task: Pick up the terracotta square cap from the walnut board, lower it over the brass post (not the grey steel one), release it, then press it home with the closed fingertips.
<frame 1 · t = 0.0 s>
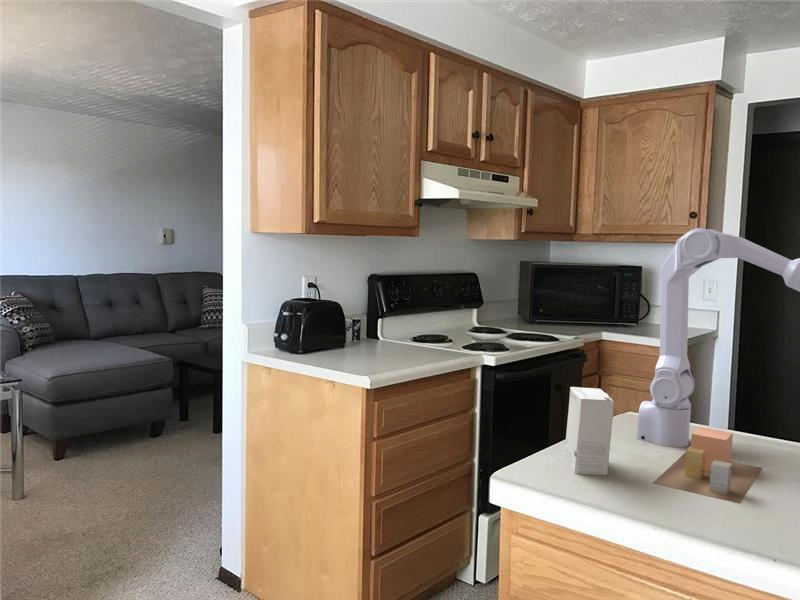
brass post: (694, 475, 114), resting on board
board: (709, 483, 115), on the countertop
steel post: (719, 491, 107), resting on board
skincare box: (585, 476, 117), on the countertop
cap: (710, 466, 119), point 1 cm above the countertop, touching board
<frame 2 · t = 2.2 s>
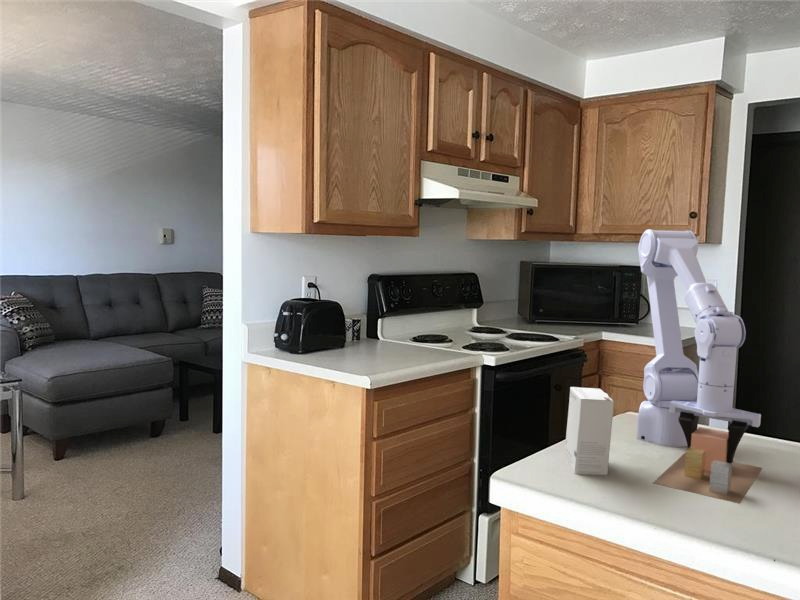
hand: (710, 458, 119), 3 cm above the countertop, tool pointing down, fingers closed on cap, 6 cm apart
cap: (710, 466, 119), point 1 cm above the countertop, touching board, gripper
everything else where it was.
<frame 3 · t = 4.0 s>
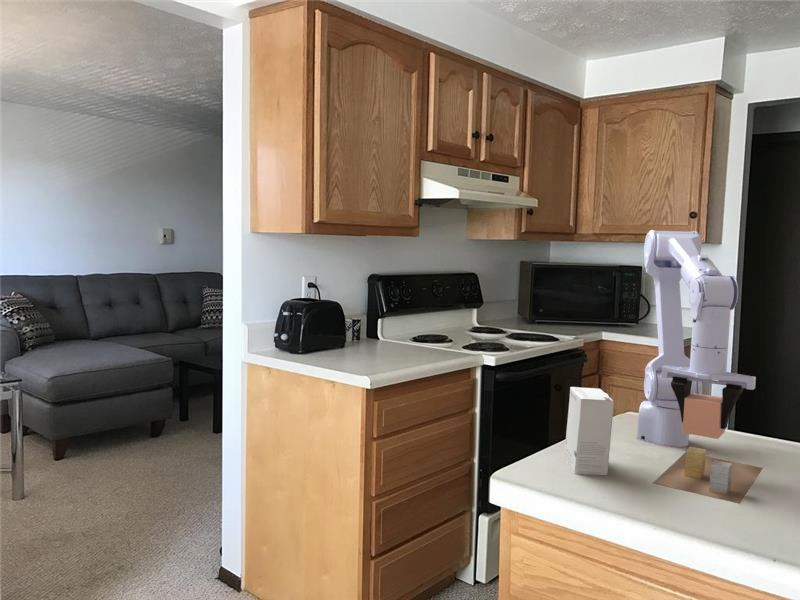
hand: (704, 424, 115), 10 cm above the countertop, tool pointing down, fingers closed on cap, 6 cm apart
cap: (703, 432, 115), point 9 cm above the countertop, touching gripper
everything else where it was.
when the fingers open (5 cm above the countertop, at t = 6.1 s): cap drops 2 cm, resting on board.
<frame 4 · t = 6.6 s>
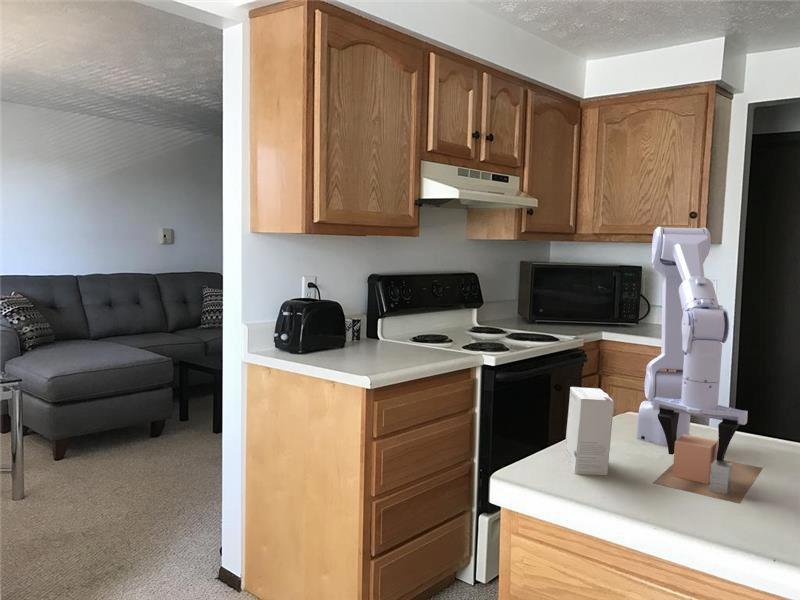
hand: (695, 457, 114), 5 cm above the countertop, tool pointing down, fingers open, 7 cm apart
cap: (694, 475, 114), point 1 cm above the countertop, touching board
everything else where it was.
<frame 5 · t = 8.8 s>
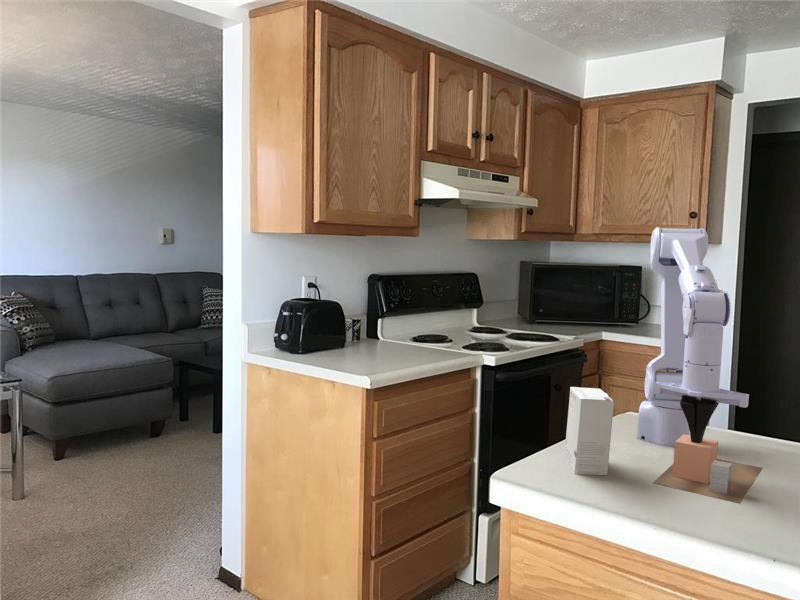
hand: (696, 441, 114), 7 cm above the countertop, tool pointing down, fingers closed, pressing on cap
cap: (694, 475, 114), point 1 cm above the countertop, touching board, gripper
everything else where it was.
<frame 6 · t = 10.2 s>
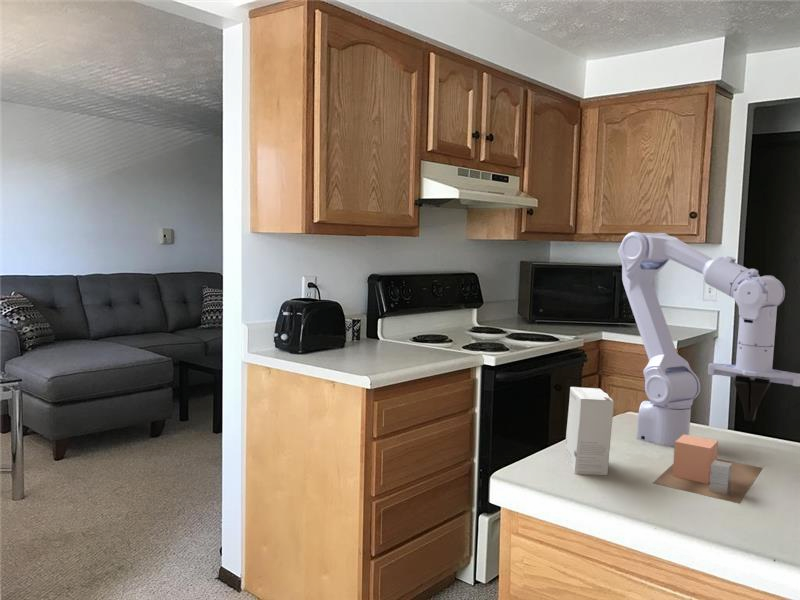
hand: (749, 419, 119), 10 cm above the countertop, tool pointing down, fingers closed
cap: (694, 475, 114), point 1 cm above the countertop, touching board
everything else where it was.
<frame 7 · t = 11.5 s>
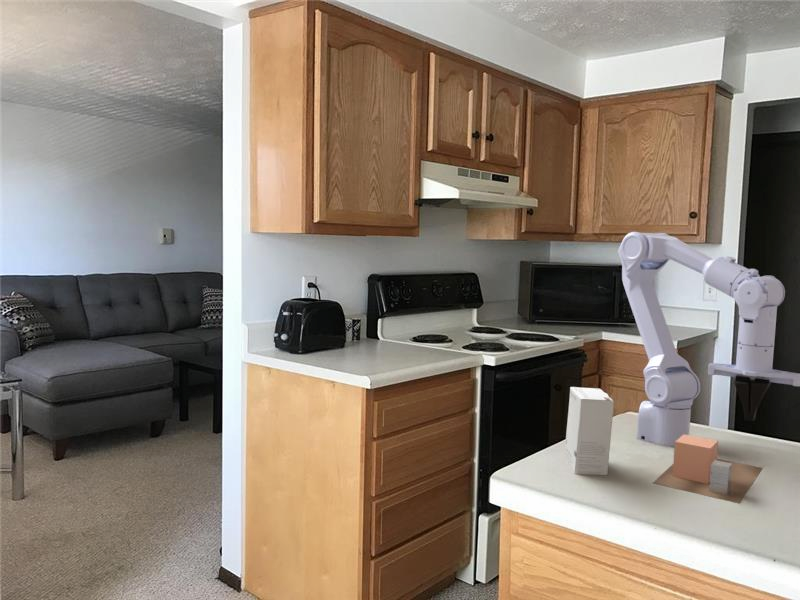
hand: (749, 419, 119), 10 cm above the countertop, tool pointing down, fingers closed
nothing on the countertop moved.
at the end: cap 0.0 cm from the brass post (horizontally); cap point 1.5 cm above the countertop; cap tilted 0° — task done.
